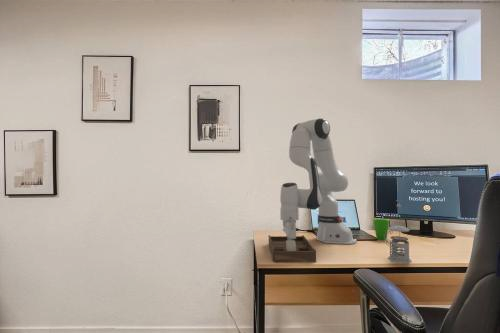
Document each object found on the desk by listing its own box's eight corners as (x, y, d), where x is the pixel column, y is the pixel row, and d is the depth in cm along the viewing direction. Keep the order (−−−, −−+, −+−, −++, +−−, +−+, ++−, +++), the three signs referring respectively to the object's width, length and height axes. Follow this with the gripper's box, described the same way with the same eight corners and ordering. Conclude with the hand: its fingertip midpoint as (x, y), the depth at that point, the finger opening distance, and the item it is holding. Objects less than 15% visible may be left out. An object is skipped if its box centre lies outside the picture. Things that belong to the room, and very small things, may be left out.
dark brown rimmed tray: (268, 244, 157) (268, 235, 157) (303, 244, 157) (303, 235, 157) (273, 262, 127) (273, 250, 127) (316, 261, 127) (316, 250, 127)
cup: (373, 240, 167) (372, 221, 167) (372, 236, 175) (372, 218, 175) (390, 241, 163) (390, 222, 163) (389, 237, 172) (389, 219, 172)
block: (286, 248, 140) (286, 240, 140) (294, 248, 140) (294, 240, 140) (287, 251, 136) (287, 242, 136) (295, 250, 136) (295, 242, 136)
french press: (404, 264, 123) (403, 205, 124) (379, 257, 133) (378, 203, 133) (416, 260, 128) (415, 204, 129) (391, 254, 138) (391, 202, 139)
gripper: (299, 219, 131) (299, 250, 131) (292, 213, 152) (293, 239, 151) (285, 219, 131) (285, 250, 131) (280, 213, 152) (281, 239, 151)
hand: (289, 244), depth 141 cm, fingers closed
